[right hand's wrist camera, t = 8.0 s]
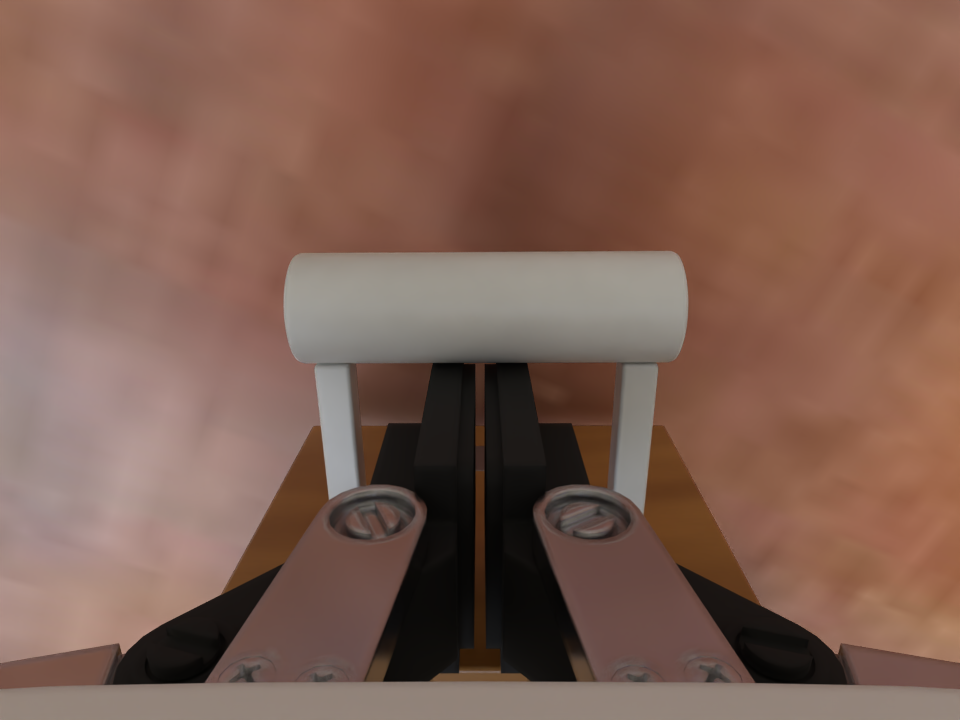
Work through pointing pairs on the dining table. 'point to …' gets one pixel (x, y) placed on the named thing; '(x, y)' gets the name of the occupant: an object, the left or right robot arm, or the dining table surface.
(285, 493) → the drawer
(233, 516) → the dining table surface
